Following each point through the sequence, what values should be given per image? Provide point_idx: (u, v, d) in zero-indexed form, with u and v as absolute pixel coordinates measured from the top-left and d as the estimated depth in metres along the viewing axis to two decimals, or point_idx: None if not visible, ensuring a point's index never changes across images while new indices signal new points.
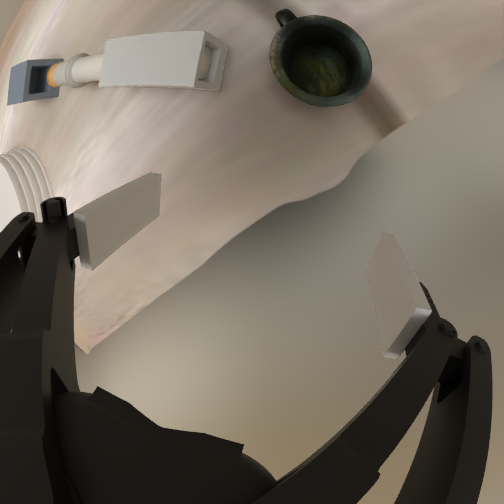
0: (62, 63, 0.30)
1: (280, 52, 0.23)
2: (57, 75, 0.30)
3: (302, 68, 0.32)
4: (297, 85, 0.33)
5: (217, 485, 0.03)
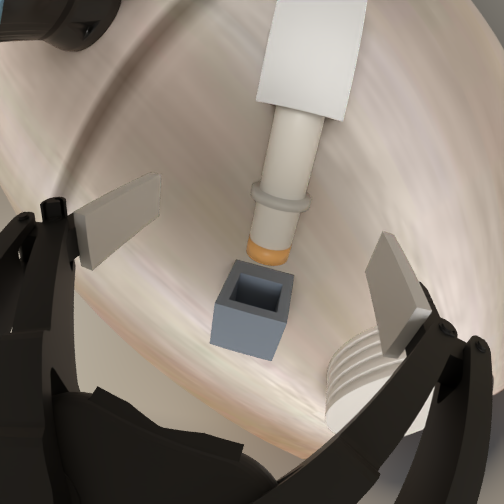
0: (254, 228, 0.30)
1: None
2: (275, 236, 0.29)
3: None
4: None
5: (217, 485, 0.03)
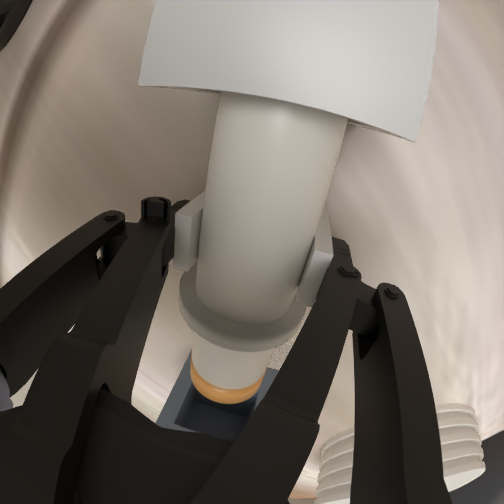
0: (195, 351, 0.15)
1: None
2: (229, 374, 0.14)
3: None
4: None
5: (217, 484, 0.03)
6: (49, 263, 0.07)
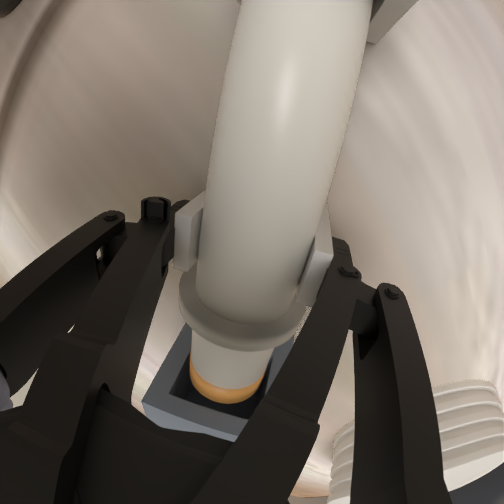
0: (194, 351, 0.15)
1: None
2: (229, 374, 0.14)
3: None
4: None
5: (218, 485, 0.03)
6: (49, 263, 0.07)
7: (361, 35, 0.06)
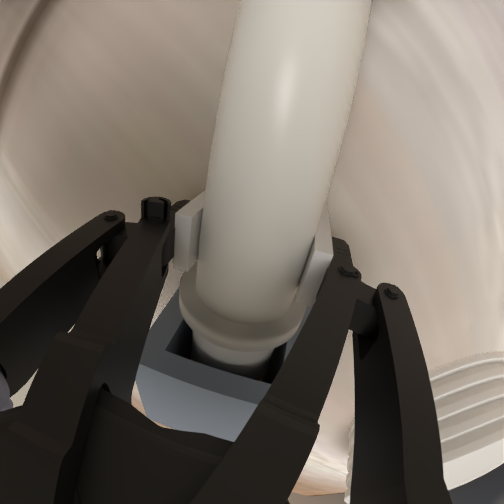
0: (194, 351, 0.15)
1: None
2: None
3: None
4: None
5: (217, 485, 0.03)
6: (49, 263, 0.07)
7: (360, 35, 0.06)
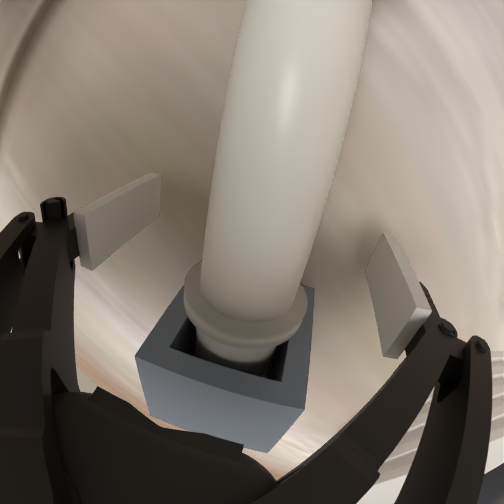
0: (198, 350, 0.15)
1: None
2: None
3: None
4: None
5: (217, 485, 0.03)
6: None
7: (359, 43, 0.07)
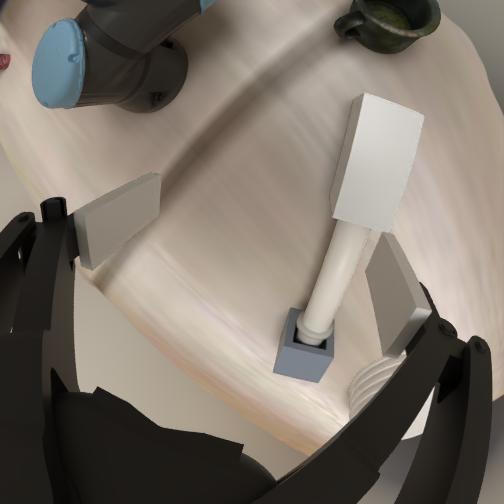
0: (297, 342, 0.46)
1: (396, 28, 0.19)
2: None
3: None
4: None
5: (217, 485, 0.03)
6: None
7: (354, 270, 0.38)
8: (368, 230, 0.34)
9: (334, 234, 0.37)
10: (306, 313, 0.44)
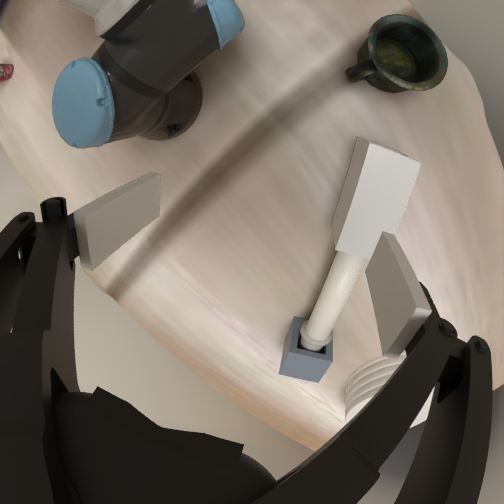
0: (301, 348, 0.53)
1: (404, 81, 0.24)
2: None
3: None
4: None
5: (218, 484, 0.03)
6: None
7: None
8: (365, 258, 0.40)
9: (335, 260, 0.43)
10: (309, 324, 0.50)
